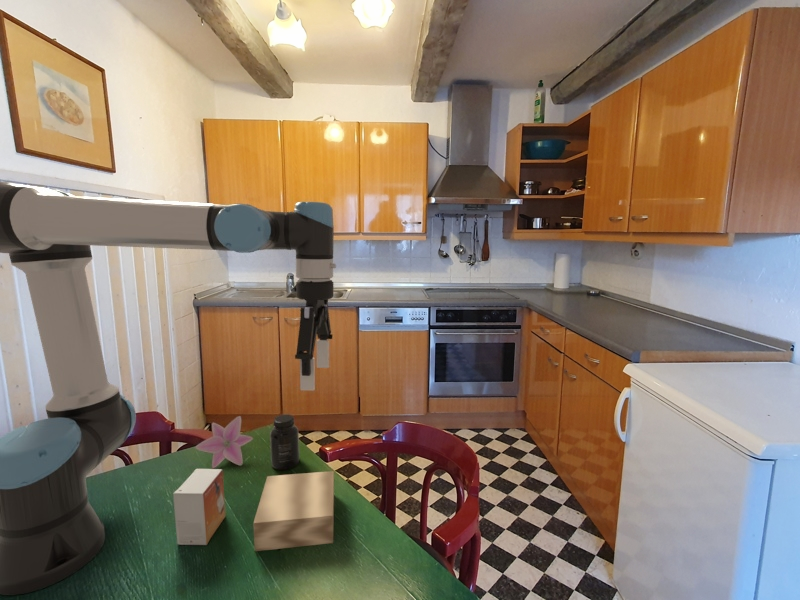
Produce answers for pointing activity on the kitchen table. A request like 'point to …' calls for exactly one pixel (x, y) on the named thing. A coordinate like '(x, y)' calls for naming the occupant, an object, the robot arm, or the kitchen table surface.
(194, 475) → the small box
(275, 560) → the kitchen table surface
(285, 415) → the supplement bottle
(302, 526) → the riser
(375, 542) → the kitchen table surface
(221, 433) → the lily
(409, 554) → the kitchen table surface
